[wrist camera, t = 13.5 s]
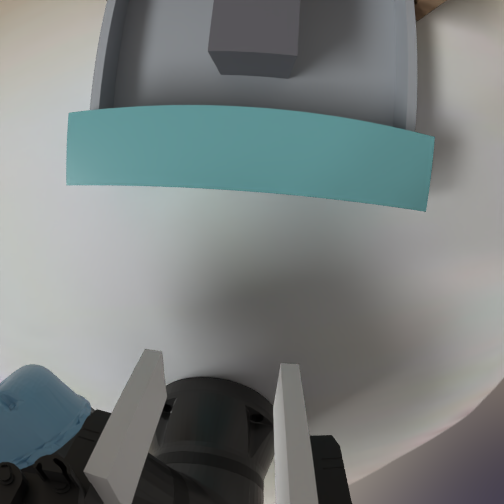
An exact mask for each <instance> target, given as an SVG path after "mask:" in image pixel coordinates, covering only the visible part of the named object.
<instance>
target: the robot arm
mask: <svg viewBox="0 0 504 504" xmlns="http://www.w3.org/2000/svg"><path fill="white" fill-rule="evenodd" d="M274 454H275V494H276V504H352V502H351V498H350V493H349V488H348V483H347V478H346V473H345V469H344V464H343V460H342V454H341V450H340V445H339V444H338V443H337V441H336V440H335V439H334V438H333V436H332V435H323V436H310V435H309V428H308V421H307V414H306V407H305V401H304V394H303V387H302V381H301V374H300V368H299V364H289V363H281V364H280V370H279V376H278V382H277V388H276V394H275V400H274V406H272V405H271V404H270V402H269V401H267V400H266V399H265V398H264V397H263V396H262V395H260V394H259V393H257V392H255V391H254V390H252V389H250V388H248V387H246V386H243V385H241V384H238V383H234V382H231V381H227V380H222V379H215V378H190V379H184V380H180V381H176V382H174V383H171V384H169V385H167V386H166V384H165V375H164V366H163V356H162V351H155V350H149V349H145V350H144V352H143V354H142V356H141V358H140V360H139V361H138V363H137V365H136V367H135V369H134V371H133V373H132V375H131V377H130V378H129V380H128V382H127V384H126V386H125V388H124V390H123V392H122V394H121V396H120V398H119V400H118V402H117V404H116V406H115V408H114V410H113V412H112V413H108V412H105V411H101V410H96V411H95V410H94V409H93V408H92V407H91V405H90V403H89V401H88V400H86V399H85V398H84V397H82V396H80V395H77V394H76V393H75V392H73V391H72V390H71V389H70V388H69V387H68V386H67V385H65V384H64V383H63V382H62V381H61V380H60V379H59V378H58V377H57V376H55V375H54V374H53V373H52V372H51V371H50V370H48V369H47V368H45V367H43V366H40V365H35V364H30V365H25V366H23V367H21V368H19V369H18V370H16V371H15V372H14V373H12V374H11V375H10V376H8V377H7V378H6V379H5V380H3V381H2V382H1V383H0V504H264V494H263V490H264V478H265V476H266V473H267V471H268V469H269V466H270V464H271V462H272V459H273V457H274Z"/></svg>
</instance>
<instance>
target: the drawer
mask: <svg viewBox="0 0 504 504" xmlns="http://www.w3.org/2000/svg"><path fill="white" fill-rule="evenodd" d="M213 3H214V0H107V4H106V8H105V13H104V17H103V22H102V27H101V32H100V37H99V43H98V49H97V55H96V61H95V68H94V76H93V84H92V93H91V103H90V110H88V111H80V112H72V113H69V117H68V132H67V162H66V183H67V185H125V186H162V187H186V188H205V189H222V190H237V191H251V192H264V193H276V194H287V195H297V196H308V197H317V198H326V199H335V200H344V201H352V202H360V203H368V204H376V205H383V206H391V207H398V208H404V209H411V210H418V211H424V212H426V207H427V201H428V194H429V187H430V179H431V171H432V162H433V151H434V139H435V137H432V136H429V135H425V134H421V133H417V132H415V128H416V110H417V37H416V20H415V8H414V0H300V15H299V35H298V53H297V58H296V61H295V63H294V66H293V68H292V71H291V74H290V76H289V79H284V78H273V77H260V76H242V75H220V73H219V71H218V69H217V67H216V65H215V64H214V62H213V60H212V58H211V56H210V54H209V53H208V43H209V34H210V26H211V18H212V10H213Z"/></svg>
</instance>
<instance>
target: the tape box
mask: <svg viewBox="0 0 504 504" xmlns="http://www.w3.org/2000/svg"><path fill="white" fill-rule="evenodd" d="M299 15H300V0H214V3H213V10H212V18H211V26H210V34H209V43H208V53H209V54H210V56H211V58H212V60H213V62H214V64H215V65H216V67H217V69H218V71H219V73H220V75H242V76H260V77H273V78H284V79H289V76H290V74H291V71H292V68H293V66H294V63H295V61H296V58H297V53H298V35H299Z"/></svg>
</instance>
